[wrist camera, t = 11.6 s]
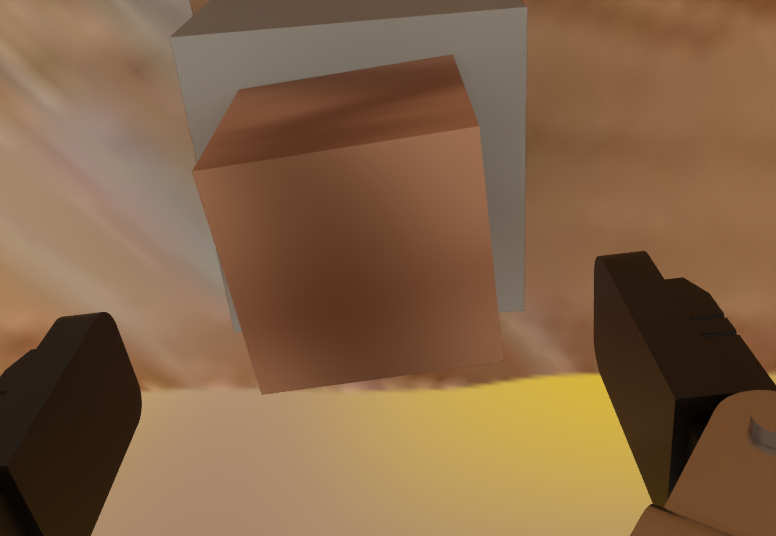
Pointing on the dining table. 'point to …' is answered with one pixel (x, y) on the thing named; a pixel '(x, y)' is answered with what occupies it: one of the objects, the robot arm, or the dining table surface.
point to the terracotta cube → (354, 225)
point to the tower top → (367, 50)
